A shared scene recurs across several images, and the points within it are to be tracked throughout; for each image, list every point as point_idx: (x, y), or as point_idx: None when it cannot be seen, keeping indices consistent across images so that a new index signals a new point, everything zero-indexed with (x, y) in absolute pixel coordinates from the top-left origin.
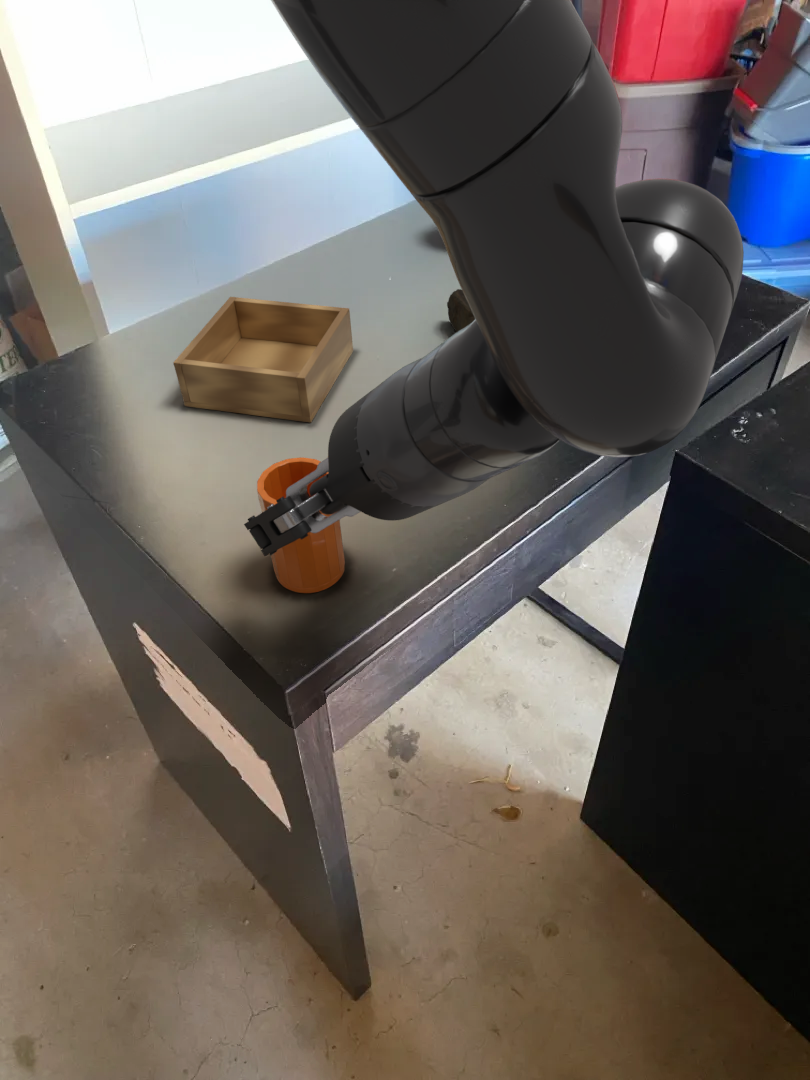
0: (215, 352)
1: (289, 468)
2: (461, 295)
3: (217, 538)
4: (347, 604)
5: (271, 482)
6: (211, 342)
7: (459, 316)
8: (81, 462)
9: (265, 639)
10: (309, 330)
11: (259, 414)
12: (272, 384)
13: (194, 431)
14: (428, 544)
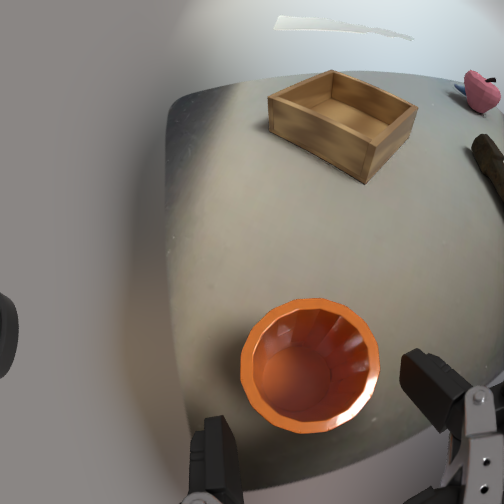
0: (307, 100)
1: (318, 312)
2: (488, 139)
3: (226, 287)
4: (307, 445)
5: (279, 324)
6: (306, 92)
7: (484, 152)
8: (175, 156)
9: None
10: (382, 109)
11: (324, 158)
12: (344, 139)
13: (265, 154)
14: None
